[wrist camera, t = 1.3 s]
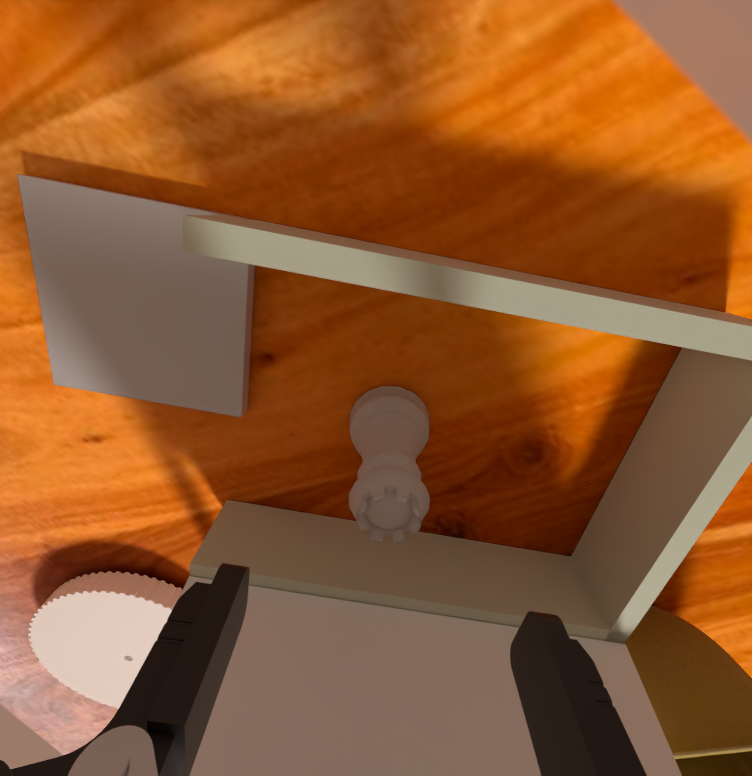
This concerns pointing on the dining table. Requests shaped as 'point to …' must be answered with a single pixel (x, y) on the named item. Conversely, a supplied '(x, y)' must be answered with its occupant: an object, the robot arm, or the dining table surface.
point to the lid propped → (388, 695)
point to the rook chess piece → (389, 462)
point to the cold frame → (492, 561)
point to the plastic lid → (101, 631)
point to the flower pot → (695, 695)
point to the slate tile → (137, 299)
